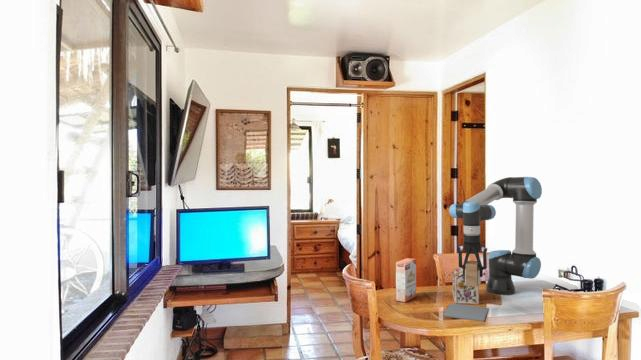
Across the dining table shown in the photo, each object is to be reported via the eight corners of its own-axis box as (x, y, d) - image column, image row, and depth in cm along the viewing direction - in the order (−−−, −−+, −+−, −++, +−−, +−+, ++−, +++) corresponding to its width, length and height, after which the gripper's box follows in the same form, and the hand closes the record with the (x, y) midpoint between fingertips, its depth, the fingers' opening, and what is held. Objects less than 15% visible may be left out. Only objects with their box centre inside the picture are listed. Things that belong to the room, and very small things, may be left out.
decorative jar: (479, 305, 205) (478, 269, 205) (455, 304, 207) (454, 269, 207) (475, 298, 216) (474, 264, 216) (452, 297, 219) (452, 264, 219)
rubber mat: (450, 304, 206) (450, 303, 206) (488, 309, 198) (488, 307, 198) (442, 316, 189) (442, 315, 189) (484, 321, 180) (483, 320, 180)
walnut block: (468, 281, 197) (468, 260, 197) (479, 282, 195) (479, 261, 195) (465, 285, 189) (465, 264, 189) (477, 286, 187) (476, 265, 187)
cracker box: (406, 303, 210) (405, 263, 210) (395, 301, 213) (394, 261, 213) (417, 296, 221) (416, 258, 221) (407, 295, 225) (406, 257, 225)
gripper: (450, 234, 193) (451, 282, 193) (491, 236, 184) (492, 287, 184) (453, 232, 200) (454, 279, 200) (493, 234, 191) (494, 283, 191)
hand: (472, 282), depth 192 cm, fingers closed on walnut block, 5 cm apart
